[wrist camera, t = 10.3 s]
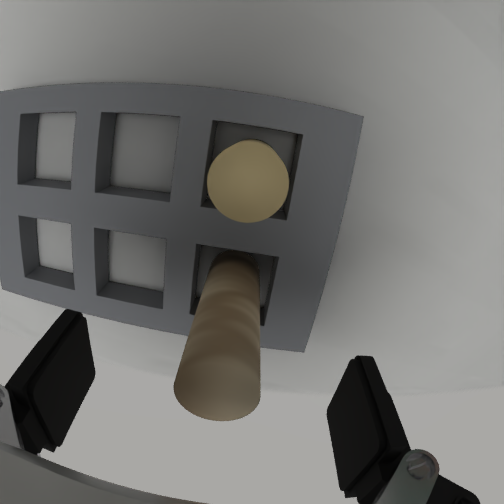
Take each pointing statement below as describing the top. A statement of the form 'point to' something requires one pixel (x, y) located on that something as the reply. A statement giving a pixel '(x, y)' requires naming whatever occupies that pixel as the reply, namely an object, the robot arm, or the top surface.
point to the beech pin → (224, 343)
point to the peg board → (178, 201)
